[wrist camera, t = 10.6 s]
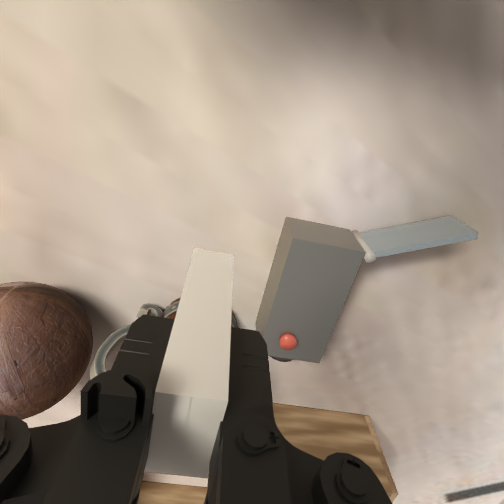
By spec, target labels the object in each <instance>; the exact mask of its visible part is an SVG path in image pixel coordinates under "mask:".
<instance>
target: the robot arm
mask: <svg viewBox="0 0 504 504" xmlns="http://www.w3.org/2000/svg"><path fill="white" fill-rule="evenodd" d="M233 263H234V255H232V254H227V253H221V252H216V251H210V250H205V249H200V248H194V251H193V254H192V258H191V262H190V265H189V269H188V273H187V276H186V280H185V284H184V287H183V291H182V295H181V298H180V302H179V306H178V309H177V313H176V317H175V319H171V318H164V317H158V316H152V315H145V314H143V315H142V316H141V317H139V318H138V319H137V320H136V321H135V322H133V323H132V324H131V326H130V328H129V330H128V333H127V335H126V337H125V340H124V342H123V344H122V346H121V349H120V352H119V353H118V355H117V358H116V360H115V362H114V364H113V367H112V369H111V370H110V371H106V372H103V373H100V374H99V375H97V376H95V377H94V378H92V379H91V380H89V381H88V383H87V384H86V385H85V386H84V388H83V389H82V390H81V415H80V416H78V417H76V418H73V419H71V420H69V421H65V422H62V423H58V424H52V425H46V426H41V427H35V428H28V426H27V423H25V422H24V421H22V420H21V419H19V418H18V417H15V416H9V415H0V504H138V501H139V494H140V487H141V483H142V479H143V475H144V472H152V473H161V474H171V475H181V476H191V477H201V478H207V476H208V488H207V494H206V497H205V501H204V504H392V502H391V500H390V498H389V497H388V495H387V493H386V491H385V489H384V487H383V486H382V484H381V482H380V480H379V479H378V477H377V476H376V474H375V473H374V472H373V470H372V469H371V468H370V467H369V466H368V465H367V464H366V463H365V462H363V461H362V460H361V459H360V458H358V457H355V456H353V455H351V454H349V453H340V452H336V453H334V454H331V455H329V456H327V457H326V459H325V460H321V459H319V458H317V457H315V456H313V455H310V454H308V453H306V452H304V451H302V450H300V449H298V448H296V447H295V446H293V445H292V444H291V443H290V442H288V441H287V440H286V439H285V438H284V436H283V435H282V434H281V432H280V430H279V429H278V427H277V425H276V423H275V418H274V412H273V402H272V392H271V381H270V372H269V361H268V351H267V343H266V342H265V340H264V338H263V337H262V335H261V334H260V332H259V331H254V330H247V329H241V328H235V327H231V314H232V289H233ZM208 472H209V475H208Z"/></svg>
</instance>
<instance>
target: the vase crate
mask: <svg viewBox="0 0 504 504" xmlns="http://www.w3.org/2000/svg"><path fill="white" fill-rule="evenodd" d="M273 412H274V418H275V423H276V425H277V427H278V429H279V430H280V432H281V434H282V435H283V436H284V438H285V439H286V440H287V441H288V442H290V443H291V444H292V445H293V446H295V447H296V448H298V449H300V450H302V451H304V452H306V453H308V454H310V455H313V456H315V457H317V458H319V459H321V460H325V459H326V457H327V456H329V455H331V454H334V453H336V452H340V453H349V454H351V455H353V456H355V457H358V458H360V459H361V460H362V461H363V462H365V463H366V464H367V465H368V466H369V467H370V468H371V469H372V470H373V472H374V473H375V474H376V476H377V477H378V479H379V480H380V482H381V484H382V486H383V487H384V489H385V491H386V493H387V495H388V497H389V498H390V500H391V502H393V501H394V499H395V498H396V496H397V495H398V492H397V489H396V487H395V484H394V481H393V479H392V476H391V473H390V471H389V468H388V465H387V463H386V460H385V457H384V455H383V452H382V450H381V447H380V444H379V442H378V439H377V436H376V434H375V431H374V428H373V426H372V423H371V420H370V418H369V416H367V415H359V414H352V413H344V412H337V411H329V410H321V409H314V408H306V407H299V406H291V405H283V404H276V403H273ZM150 473H152V472H150ZM160 474H161V473H160ZM170 475H171V474H170ZM208 475H209V472H208ZM180 476H181V475H180ZM190 477H191V476H190ZM200 478H201V477H200ZM207 478H208V476H207ZM206 494H207V487H196V486H186V485H176V484H166V483H155V482H145V481H142V483H141V487H140V494H139V501H138V504H204V501H205V497H206Z"/></svg>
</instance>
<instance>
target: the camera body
mask: <svg viewBox="0 0 504 504" xmlns="http://www.w3.org/2000/svg"><path fill="white" fill-rule="evenodd" d="M365 253H366V252H365V250H364V249H363V248H362V246H361V245H360V243H359V242H358V241H357V239H356V238H355V236H354V235H353V234H352V232H351V231H350V230H349V229H344V228H339V227H334V226H329V225H324V224H319V223H314V222H309V221H304V220H299V219H294V218H289V217H286V219H285V222H284V226H283V229H282V233H281V236H280V240H279V243H278V246H277V250H276V253H275V257H274V260H273V264H272V267H271V271H270V274H269V278H268V281H267V285H266V288H265V292H264V295H263V299H262V302H261V306H260V309H259V313H258V316H257V320H256V331H259V332H260V334H261V335H262V337H263V338H264V340H265V342H266V343H267V351H268V356H270V357H272V358H273V359H275V360H278V361H282V362H288V361H291V360H293V359H295V360H301V361H308V362H315V363H320V361H321V358H322V356H323V353H324V351H325V349H326V346H327V344H328V341H329V339H330V337H331V334H332V332H333V330H334V327H335V325H336V322H337V320H338V318H339V315H340V313H341V310H342V308H343V306H344V303H345V301H346V299H347V296H348V294H349V291H350V289H351V287H352V284H353V282H354V279H355V277H356V275H357V272H358V270H359V267H360V265H361V263H362V260H363V258H364V256H365Z"/></svg>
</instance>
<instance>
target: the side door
mask: <svg viewBox="0 0 504 504" xmlns="http://www.w3.org/2000/svg"><path fill="white" fill-rule="evenodd" d="M351 232H352V234H353V235H354V236H355V238H356V239H357V241H358V242H359V243H360V245H361V246H362V248H363V249H364V250H365V252H366V253H365V256H364V260H365V261H366V262H367V263H372V262H374V261H375V260H376V258H378V257H383V256H389V255H394V254H399V253H405V252H410V251H415V250H421V249H426V248H432V247H437V246H442V245H448V244H453V243H458V242H464V241H469V240H475V239H477V237H478V232H477V231H475V230H474V229H472V228H471V227H469V226H468V225H466V224H465V223H463V222H462V221H460V220H459V219H457V218H456V217H454V216H452V215H450V216H444V217H439V218H434V219H429V220H423V221H418V222H413V223H408V224H403V225H397V226H392V227H387V228H382V229H376V230H371V231H366V232H361V233H359V232H358V231H356V230H353V231H351Z"/></svg>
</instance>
